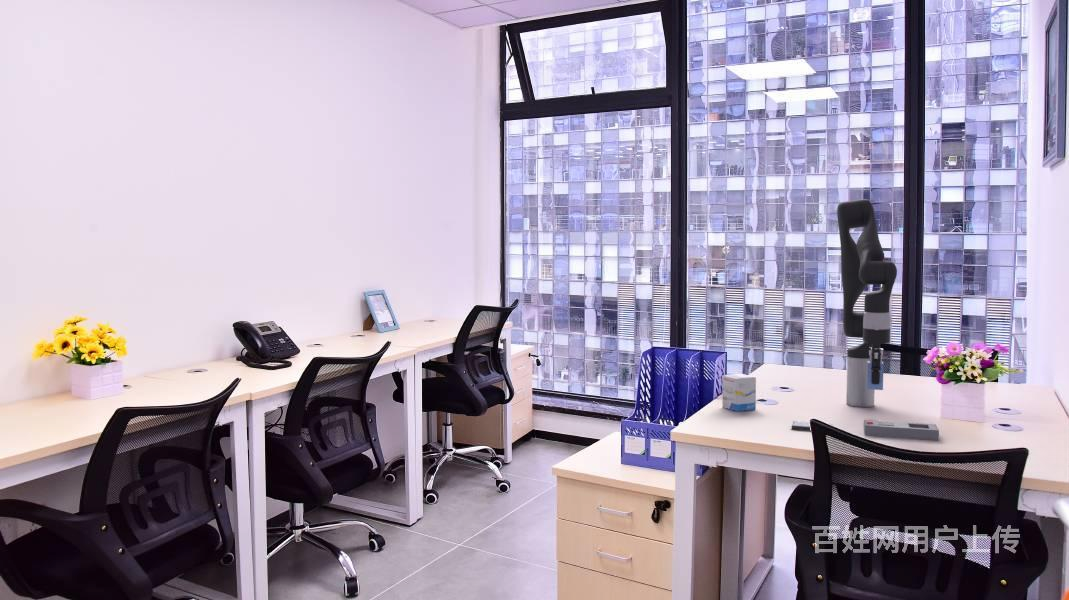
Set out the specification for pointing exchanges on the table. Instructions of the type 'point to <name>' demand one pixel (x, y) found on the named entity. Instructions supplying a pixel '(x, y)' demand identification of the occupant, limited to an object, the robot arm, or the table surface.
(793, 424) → the phone slab
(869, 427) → the power strip
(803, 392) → the table surface
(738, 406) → the ink box
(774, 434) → the table surface
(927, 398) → the table surface
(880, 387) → the block
